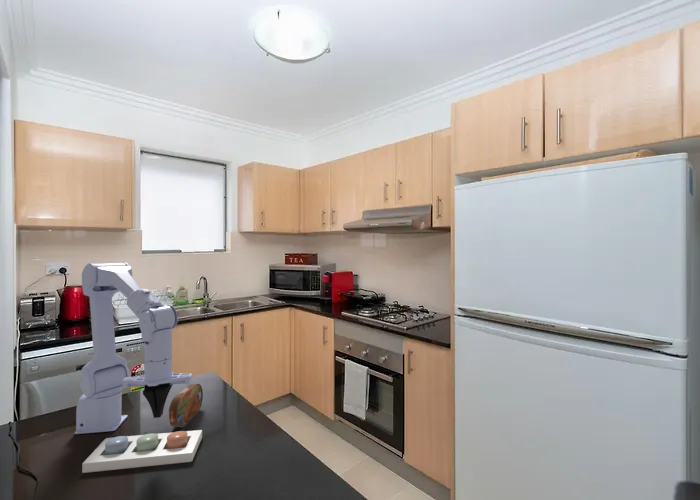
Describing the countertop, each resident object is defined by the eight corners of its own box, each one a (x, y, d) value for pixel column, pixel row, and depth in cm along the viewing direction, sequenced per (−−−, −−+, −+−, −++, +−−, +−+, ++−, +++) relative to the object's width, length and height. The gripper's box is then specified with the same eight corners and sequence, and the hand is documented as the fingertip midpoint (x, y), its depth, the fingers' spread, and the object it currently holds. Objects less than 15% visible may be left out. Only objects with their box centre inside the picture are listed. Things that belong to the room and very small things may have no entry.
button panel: (82, 472, 74) (82, 463, 74) (105, 446, 84) (105, 438, 84) (192, 461, 78) (192, 452, 78) (202, 437, 88) (202, 429, 88)
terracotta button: (164, 452, 80) (164, 441, 80) (170, 441, 84) (170, 431, 84) (184, 450, 80) (184, 440, 80) (189, 439, 85) (189, 430, 85)
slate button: (101, 458, 77) (101, 447, 77) (110, 447, 81) (110, 436, 81) (122, 456, 78) (122, 445, 78) (131, 445, 82) (131, 435, 82)
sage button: (133, 455, 78) (133, 444, 78) (140, 444, 83) (140, 434, 83) (154, 453, 79) (154, 442, 79) (160, 442, 84) (160, 432, 84)
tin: (178, 433, 90) (178, 401, 90) (166, 433, 90) (166, 401, 90) (203, 406, 105) (204, 379, 105) (193, 406, 105) (193, 379, 105)
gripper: (116, 365, 76) (115, 427, 76) (186, 361, 79) (186, 421, 79) (130, 355, 83) (130, 412, 83) (194, 352, 86) (194, 407, 86)
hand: (158, 415), depth 81 cm, fingers closed
